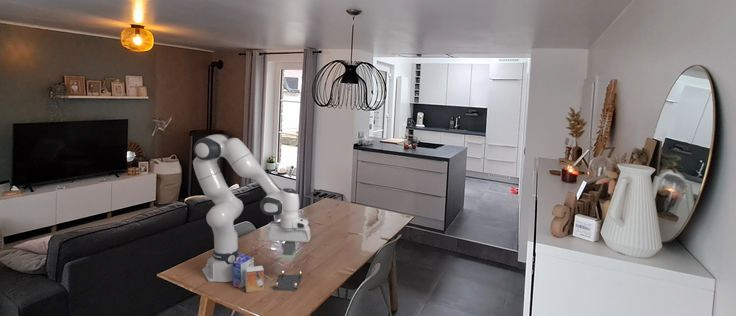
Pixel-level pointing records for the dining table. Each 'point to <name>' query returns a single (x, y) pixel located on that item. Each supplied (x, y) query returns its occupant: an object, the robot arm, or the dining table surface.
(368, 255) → the dining table surface
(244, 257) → the ink cartridge box
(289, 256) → the circuit board
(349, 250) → the dining table surface
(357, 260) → the dining table surface
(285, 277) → the chassis plate
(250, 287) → the small box
